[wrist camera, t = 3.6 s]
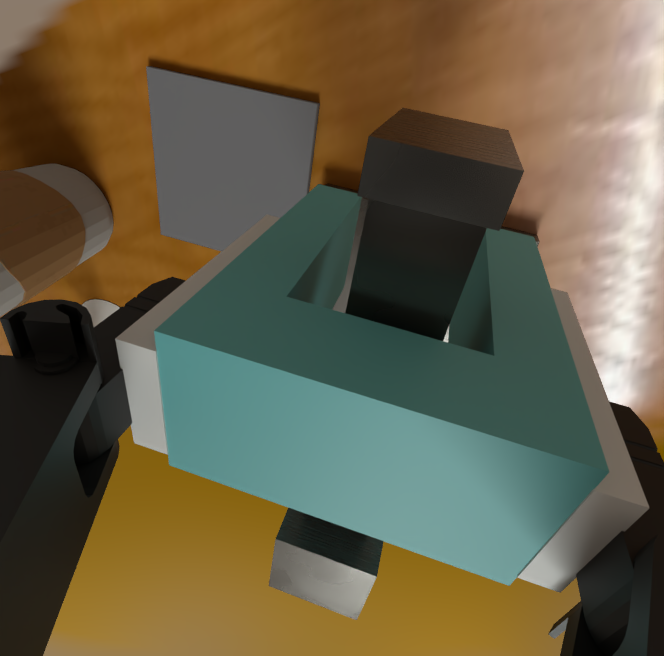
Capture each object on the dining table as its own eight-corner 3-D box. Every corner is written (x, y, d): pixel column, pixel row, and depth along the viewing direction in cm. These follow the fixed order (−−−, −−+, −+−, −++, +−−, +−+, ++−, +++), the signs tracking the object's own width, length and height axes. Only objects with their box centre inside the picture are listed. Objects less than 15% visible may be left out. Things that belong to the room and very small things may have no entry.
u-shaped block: (306, 276, 16) (169, 464, 9) (318, 183, 14) (153, 330, 7) (491, 328, 15) (509, 586, 8) (533, 236, 13) (609, 472, 6)
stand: (306, 322, 30) (149, 577, 16) (346, 51, 21) (40, 61, 6) (473, 371, 29) (470, 707, 14) (599, 101, 19) (993, 276, 5)
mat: (164, 232, 30) (161, 234, 29) (150, 66, 24) (146, 66, 23) (299, 269, 28) (297, 272, 28) (319, 103, 22) (317, 104, 22)
